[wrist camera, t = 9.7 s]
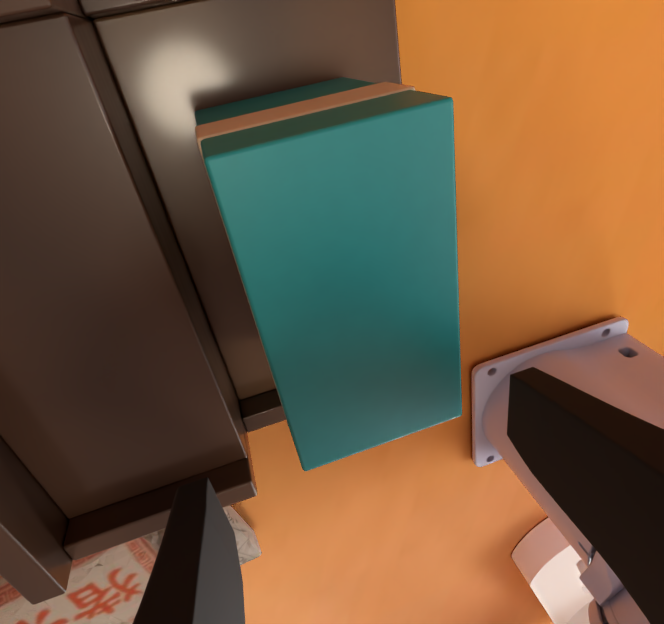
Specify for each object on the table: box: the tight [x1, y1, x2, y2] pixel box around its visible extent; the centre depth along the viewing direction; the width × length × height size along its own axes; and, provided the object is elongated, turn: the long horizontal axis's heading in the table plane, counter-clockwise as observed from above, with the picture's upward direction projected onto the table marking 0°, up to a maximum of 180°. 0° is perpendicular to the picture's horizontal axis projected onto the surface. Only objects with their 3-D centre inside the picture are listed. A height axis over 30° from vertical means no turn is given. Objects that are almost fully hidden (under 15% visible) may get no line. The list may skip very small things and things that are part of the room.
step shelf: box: [0, 0, 402, 605], centre depth 14 cm, size 15×15×8 cm
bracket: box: [512, 517, 594, 624], centre depth 37 cm, size 20×9×7 cm, turn 29°
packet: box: [194, 77, 462, 471], centre depth 13 cm, size 5×8×6 cm, turn 10°
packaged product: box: [0, 505, 262, 624], centre depth 21 cm, size 18×5×10 cm
